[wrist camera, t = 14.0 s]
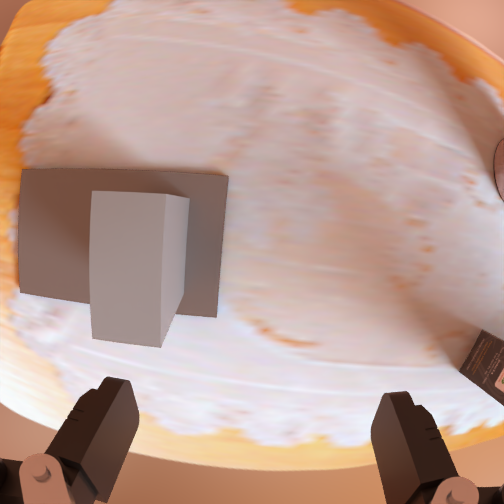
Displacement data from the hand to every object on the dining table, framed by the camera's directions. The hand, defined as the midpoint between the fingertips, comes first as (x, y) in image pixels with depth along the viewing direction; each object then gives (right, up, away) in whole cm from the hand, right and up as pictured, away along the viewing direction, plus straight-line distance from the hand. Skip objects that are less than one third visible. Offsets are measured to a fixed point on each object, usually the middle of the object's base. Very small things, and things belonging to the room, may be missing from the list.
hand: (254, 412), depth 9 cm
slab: (-8, +5, +17) cm, 20 cm away
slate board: (-13, +6, +18) cm, 22 cm away
